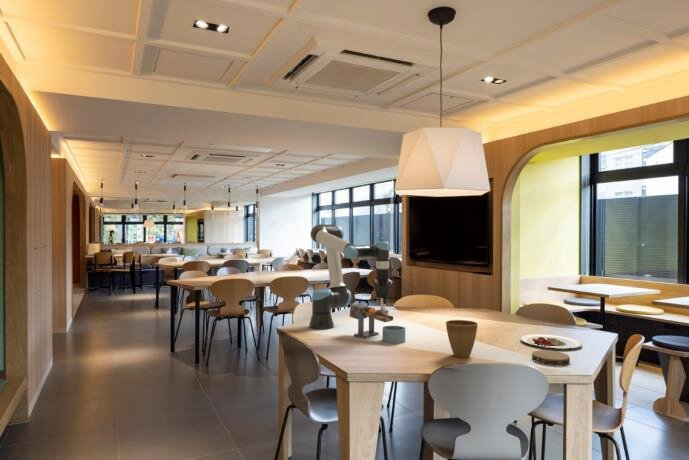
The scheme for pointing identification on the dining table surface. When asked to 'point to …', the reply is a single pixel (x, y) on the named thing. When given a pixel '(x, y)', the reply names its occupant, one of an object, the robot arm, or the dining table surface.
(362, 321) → the lever stand
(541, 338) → the plated food
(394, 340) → the cup
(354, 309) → the lever
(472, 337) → the plant pot
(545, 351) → the brown round disc
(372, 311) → the ball
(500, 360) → the dining table surface
